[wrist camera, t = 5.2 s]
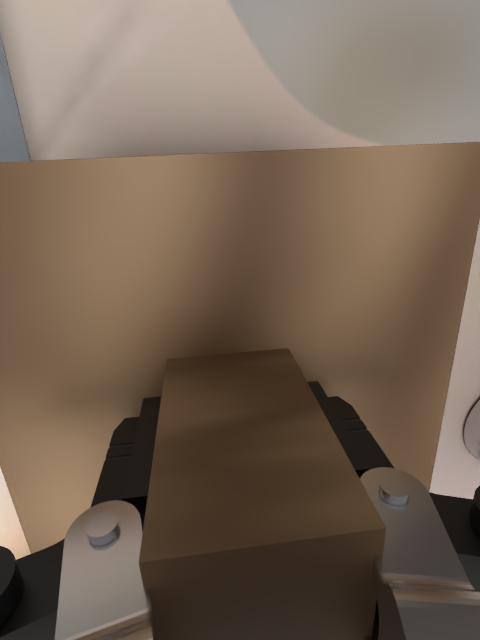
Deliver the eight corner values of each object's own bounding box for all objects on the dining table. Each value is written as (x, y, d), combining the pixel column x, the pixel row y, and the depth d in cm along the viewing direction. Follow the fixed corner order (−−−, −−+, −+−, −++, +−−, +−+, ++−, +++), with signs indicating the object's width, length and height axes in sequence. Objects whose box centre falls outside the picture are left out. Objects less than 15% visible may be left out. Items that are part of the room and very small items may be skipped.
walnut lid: (467, 143, 10) (913, 99, 4) (406, 517, 16) (558, 762, 9) (-76, 166, 9) (-716, 157, 3) (54, 566, 14) (-60, 891, 8)
